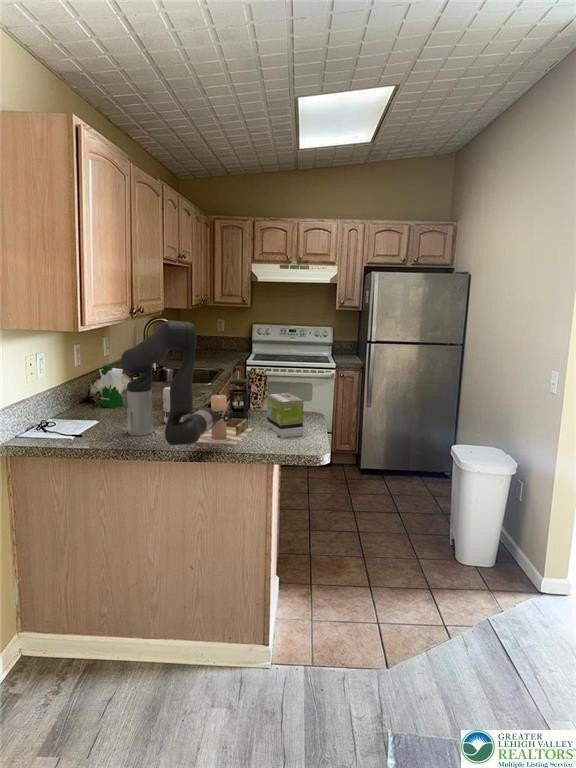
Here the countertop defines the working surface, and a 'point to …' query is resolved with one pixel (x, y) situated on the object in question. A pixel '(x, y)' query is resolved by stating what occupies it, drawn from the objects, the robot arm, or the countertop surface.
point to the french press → (238, 412)
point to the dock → (229, 432)
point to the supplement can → (167, 404)
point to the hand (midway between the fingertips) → (218, 410)
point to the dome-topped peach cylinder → (221, 426)
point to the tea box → (285, 414)
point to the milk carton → (111, 387)
